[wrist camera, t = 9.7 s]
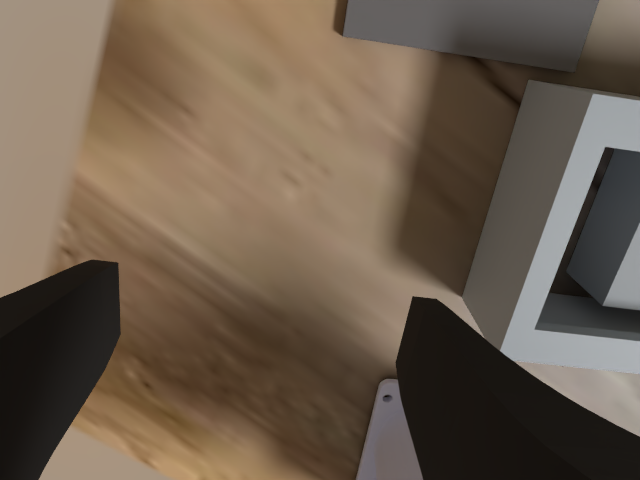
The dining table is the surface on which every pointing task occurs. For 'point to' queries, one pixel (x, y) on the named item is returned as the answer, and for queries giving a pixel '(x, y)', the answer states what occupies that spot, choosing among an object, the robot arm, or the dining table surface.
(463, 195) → the dining table surface
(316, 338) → the dining table surface
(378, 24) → the mat
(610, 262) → the slot box
